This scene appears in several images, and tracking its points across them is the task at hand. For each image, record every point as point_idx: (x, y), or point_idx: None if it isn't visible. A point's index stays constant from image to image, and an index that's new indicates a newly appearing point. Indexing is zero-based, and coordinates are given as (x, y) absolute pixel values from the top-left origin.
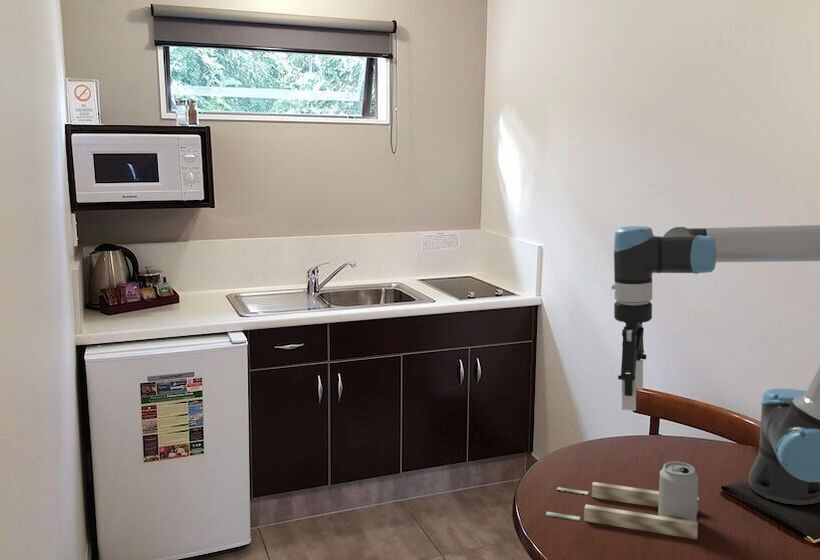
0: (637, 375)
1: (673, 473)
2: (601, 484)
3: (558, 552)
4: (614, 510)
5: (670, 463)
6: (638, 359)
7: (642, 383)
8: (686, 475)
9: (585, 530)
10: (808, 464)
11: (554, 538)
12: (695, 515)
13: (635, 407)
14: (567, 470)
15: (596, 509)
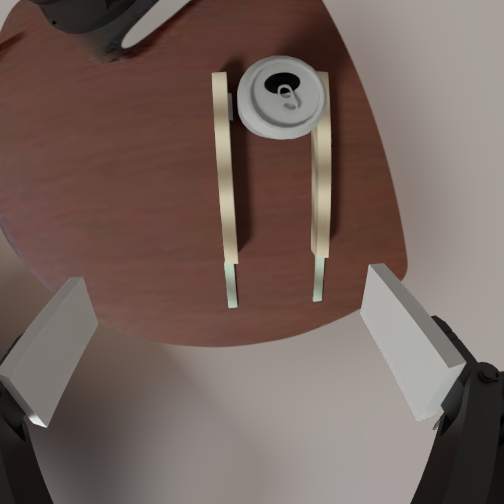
0: (60, 339)
1: (322, 106)
2: (230, 249)
3: (405, 260)
4: (323, 210)
5: (260, 116)
6: (8, 395)
7: (69, 293)
8: (318, 78)
9: (348, 240)
10: None
11: None
12: (282, 75)
13: (390, 271)
14: (159, 306)
15: (328, 238)
